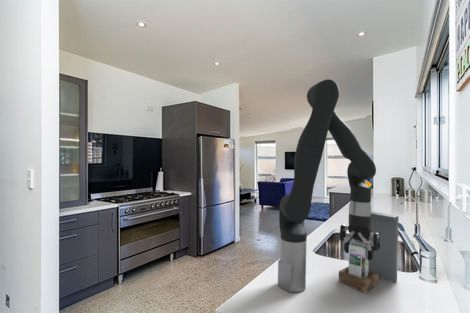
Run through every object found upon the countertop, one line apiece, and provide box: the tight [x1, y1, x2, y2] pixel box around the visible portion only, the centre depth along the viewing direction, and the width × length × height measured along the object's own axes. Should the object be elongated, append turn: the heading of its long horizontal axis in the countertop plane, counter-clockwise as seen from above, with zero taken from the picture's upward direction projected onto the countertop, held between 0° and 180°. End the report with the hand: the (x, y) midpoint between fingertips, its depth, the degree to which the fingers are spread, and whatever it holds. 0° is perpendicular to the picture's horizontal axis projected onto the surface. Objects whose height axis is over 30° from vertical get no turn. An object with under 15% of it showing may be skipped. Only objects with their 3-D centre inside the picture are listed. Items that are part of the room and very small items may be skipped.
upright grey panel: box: [354, 210, 399, 283], centre depth 104 cm, size 4×16×25 cm, turn 37°
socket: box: [338, 266, 380, 294], centre depth 97 cm, size 10×10×4 cm
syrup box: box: [348, 241, 369, 279], centre depth 97 cm, size 6×6×14 cm
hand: (358, 256), depth 97 cm, fingers open, 8 cm apart
